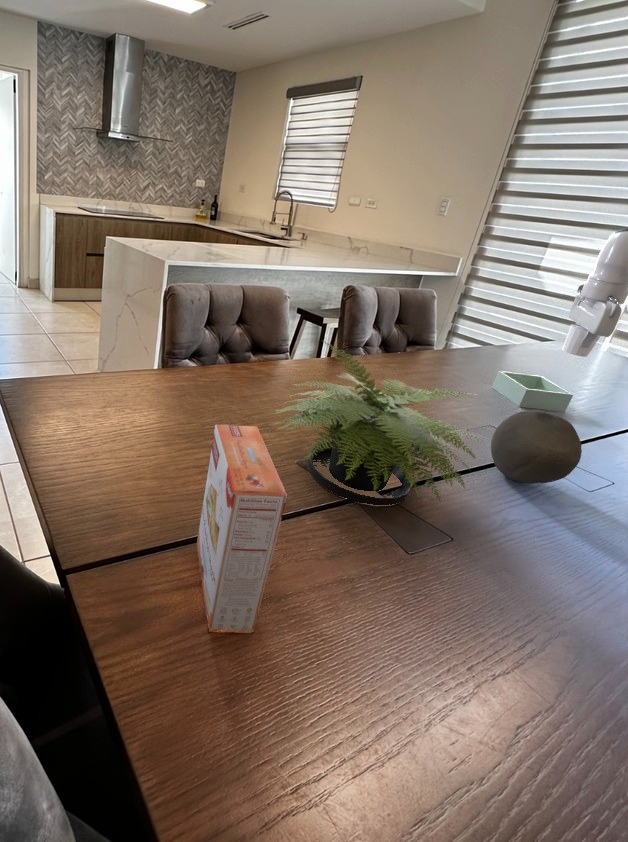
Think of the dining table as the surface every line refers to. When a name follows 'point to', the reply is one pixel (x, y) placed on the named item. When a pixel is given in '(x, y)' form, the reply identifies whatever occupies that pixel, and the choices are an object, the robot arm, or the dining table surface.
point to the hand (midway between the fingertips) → (579, 343)
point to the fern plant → (375, 436)
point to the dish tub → (532, 391)
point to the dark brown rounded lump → (535, 447)
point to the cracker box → (238, 526)
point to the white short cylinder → (577, 341)
